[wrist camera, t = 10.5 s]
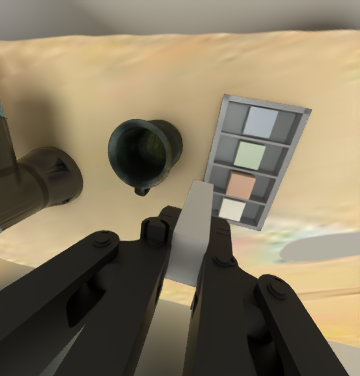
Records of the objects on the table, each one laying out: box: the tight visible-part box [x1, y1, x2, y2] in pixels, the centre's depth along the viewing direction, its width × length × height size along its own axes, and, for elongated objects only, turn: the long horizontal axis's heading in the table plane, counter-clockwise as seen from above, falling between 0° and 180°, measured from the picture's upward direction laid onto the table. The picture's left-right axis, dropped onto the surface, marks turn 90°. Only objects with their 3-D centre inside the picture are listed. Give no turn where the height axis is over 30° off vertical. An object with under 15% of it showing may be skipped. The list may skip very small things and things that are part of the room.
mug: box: [108, 119, 182, 196], centre depth 35 cm, size 11×15×12 cm
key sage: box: [233, 140, 266, 170], centre depth 34 cm, size 4×4×2 cm
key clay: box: [226, 170, 256, 200], centre depth 36 cm, size 4×4×2 cm
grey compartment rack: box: [204, 94, 312, 231], centre depth 36 cm, size 14×24×4 cm, turn 170°
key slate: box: [242, 107, 278, 138], centre depth 32 cm, size 4×4×2 cm
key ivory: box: [219, 196, 246, 221], centre depth 39 cm, size 4×4×2 cm
